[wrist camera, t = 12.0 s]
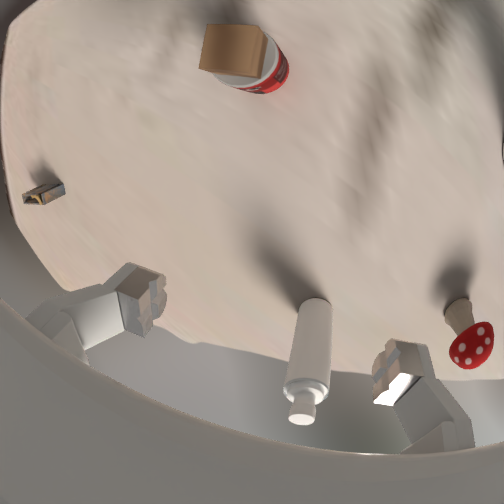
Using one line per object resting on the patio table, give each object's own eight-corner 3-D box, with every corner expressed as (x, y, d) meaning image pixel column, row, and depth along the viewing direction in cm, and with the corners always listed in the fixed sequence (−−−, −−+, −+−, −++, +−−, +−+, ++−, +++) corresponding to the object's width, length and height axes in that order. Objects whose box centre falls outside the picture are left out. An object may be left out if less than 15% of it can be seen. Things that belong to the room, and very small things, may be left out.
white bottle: (291, 309, 52) (264, 424, 31) (318, 291, 48) (303, 414, 27) (313, 328, 53) (296, 441, 32) (339, 313, 50) (334, 432, 28)
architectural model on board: (64, 181, 52) (35, 195, 44) (66, 193, 54) (37, 208, 45) (42, 182, 54) (15, 195, 46) (44, 193, 56) (18, 206, 48)
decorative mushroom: (446, 332, 45) (463, 386, 33) (429, 312, 44) (448, 370, 32) (480, 304, 40) (506, 355, 28) (467, 281, 39) (496, 335, 27)
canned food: (226, 70, 34) (195, 58, 25) (266, 38, 30) (247, 15, 21) (258, 104, 36) (236, 101, 27) (300, 73, 32) (292, 58, 23)
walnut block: (268, 39, 22) (258, 25, 18) (260, 78, 25) (248, 72, 20) (224, 35, 23) (207, 24, 19) (217, 74, 25) (198, 68, 21)
